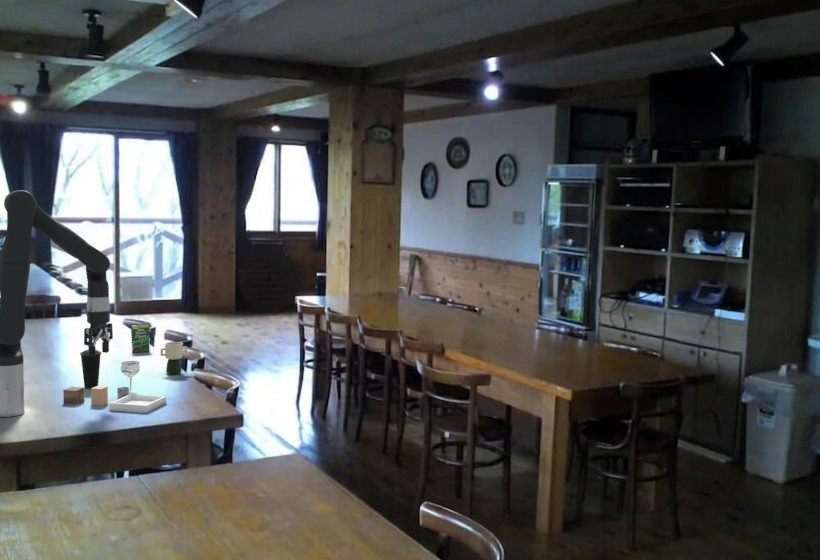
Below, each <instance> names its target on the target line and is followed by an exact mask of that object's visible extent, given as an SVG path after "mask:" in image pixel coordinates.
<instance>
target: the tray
mask: <svg viewBox="0 0 820 560" xmlns="http://www.w3.org/2000/svg"><path fill="white" fill-rule="evenodd" d="M108 403H109V404H108V405H109V406H108V407H109V411H116V412H128V413H143V414H148V413H150V412H151V411H154V410H156V409H157V408H160V407H162V406H163V405H165V404H167V396H166V395H165V396H164V395H152V394H151V395H150V394H138V393H137V394H129V395H127V396H125V397H122V398H120V399H116V400H114V401H111V402H108Z"/></svg>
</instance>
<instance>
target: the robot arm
mask: <svg viewBox="0 0 820 560" xmlns="http://www.w3.org/2000/svg"><path fill="white" fill-rule="evenodd" d="M3 206H4V209H5V211H6V215H7V218H6V231H5V232H6V233H5V237H4V240H3V243H2V247H1V251H0V418H10V417H11V418H12V417H15V416H17V417H18V416H19V415H23V414H25V377H24V376H25V375H24V373H25V371H24V370H25V369H24V367H25V366H24V363H25V362H24V353H23V351H22V350H23V349H22V346H21V345H22V344H21V343H22V341H21V340H23V338H24V335H25V332H26V320H25V319H26V318H25V317H26V316H25V315H26V314H25V311H26V310H25V308H26V307H25V305H26V297H27V292H28V287H29V285H28V284H29V278H30V269H31V256H32V253H31V252H32V239H31V238H32V229H33V228H34V229H36V230H37V231H39V232H40V233H42V234H43V235H44V236H45V237H47V238H48V239H49V240H50V241H51V242H53V243H54V244H55V245H56V246H58V247H59V248H60V249H62V250H63V251H64V252H65V253H67V254H68V255H70V256H71V257H73V258H75V259H76V260H78V261H79V262H81V263H82V264H83V265H84V266H85V274H86V279H87V289H86V290H87V301H86V322H87V323H88V324H90V326H89V327H85V328H84V330H83V331H84V333H83V345H84V346H87V347H88V350H89V357H95V356H96V350H97V349H96V344H97V342H98V341H99V339H101V342H102V343H101V344H102V345H101V353H109V352H110V342H111V340H114V339H113V338H114V337H113V334H114V331H113V323H111V316H110V312H111V308H110V307H111V305H110V304H111V302H110V297H109V296H110V290H109V289H110V288H109V287H110V286H109V282H108V279H107V271H109V269H110V266H111V261H110V259H109V257H108V256H107V255H106V254H104V253H103V252H102V251H100V250H98V249H97V248H95V246H93V245H91V244H89V243H88V241H86V240H85V239H84V238H83V237H81V236H80V235H79V234H77V233H76V232H74V231H73V230H72V229H71V228H69V227H68V226H66V225H64V224H63V223H61V222H60V221H58V220H56V219H55V218H53V217H52V216H50V215H49V214H48V213H46V211H44V210H43V208H41V207H40V206H39V205H38V204H37V200H36V198H35V196H34V195H33V194H32V193H31V192H29V191H27V190H21V189H20V190H18V189H17V190H14V191H11V192H9V193H8V194H7V195H6V196H5V198H4V201H3Z"/></svg>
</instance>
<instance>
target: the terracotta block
mask: <svg viewBox="0 0 820 560" xmlns="http://www.w3.org/2000/svg"><path fill="white" fill-rule="evenodd" d="M108 387H109V386H103V385H98V386H96V387H93V388H91V389H90V398H91V399H90V400H91V401H90V404H91V406H104V405H107V404H108V403H109V396H108V395H109V394H108V393H109V392H108V389H109V388H108Z"/></svg>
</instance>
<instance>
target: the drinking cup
mask: <svg viewBox="0 0 820 560" xmlns="http://www.w3.org/2000/svg"><path fill="white" fill-rule="evenodd" d="M95 350H96V356H95V357H89V349H86V350H83V351H81V352H80V353H79V355H80V359H81V367H82V377H83V385H84V386H83V388H84V389H88V390H91V388H93V387H96V386H99V381H100V380H99V378H100V377H99V375H100V365H101V356H102V355H101V354H102V351H101V350H98V349H95Z"/></svg>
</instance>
